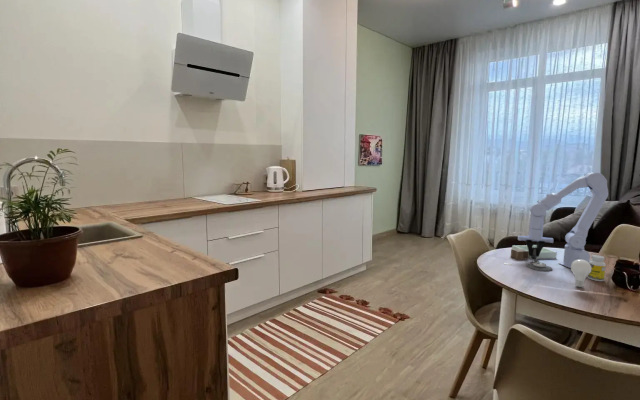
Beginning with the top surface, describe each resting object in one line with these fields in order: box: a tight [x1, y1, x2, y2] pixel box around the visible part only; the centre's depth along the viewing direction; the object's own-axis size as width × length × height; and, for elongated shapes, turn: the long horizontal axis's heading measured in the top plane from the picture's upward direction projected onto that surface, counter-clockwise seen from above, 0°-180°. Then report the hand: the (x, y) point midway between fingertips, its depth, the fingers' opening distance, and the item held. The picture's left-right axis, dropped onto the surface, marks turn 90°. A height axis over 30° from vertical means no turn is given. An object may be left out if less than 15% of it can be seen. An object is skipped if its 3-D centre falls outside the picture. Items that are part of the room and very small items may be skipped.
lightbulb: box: [570, 259, 592, 288], centre depth 132 cm, size 6×6×11 cm
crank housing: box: [503, 262, 553, 272], centre depth 158 cm, size 20×10×1 cm, turn 71°
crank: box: [531, 247, 547, 268], centre depth 161 cm, size 14×5×7 cm, turn 161°
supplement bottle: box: [587, 254, 607, 282], centre depth 142 cm, size 5×5×10 cm
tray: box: [511, 244, 558, 260], centre depth 178 cm, size 14×14×4 cm
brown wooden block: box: [510, 248, 529, 260], centre depth 171 cm, size 4×4×6 cm
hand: (533, 255), depth 166 cm, fingers closed on crank, 2 cm apart
